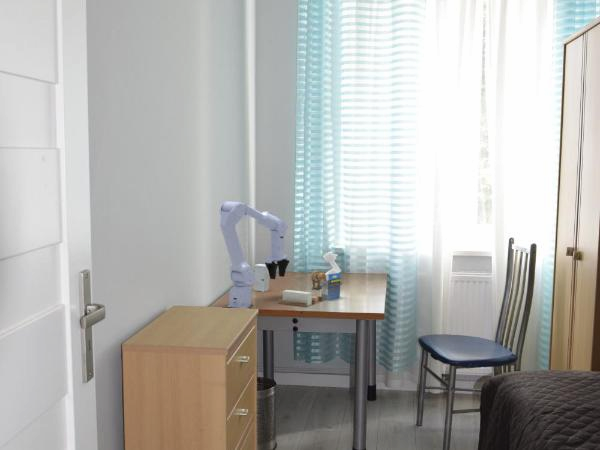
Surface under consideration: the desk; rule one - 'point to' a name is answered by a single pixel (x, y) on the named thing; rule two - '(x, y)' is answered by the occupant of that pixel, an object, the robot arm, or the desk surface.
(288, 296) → the strip
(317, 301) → the terracotta strip
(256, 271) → the skincare box
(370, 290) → the desk surface
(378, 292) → the desk surface
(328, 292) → the label tape box
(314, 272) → the lion figurine
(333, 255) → the voxel character
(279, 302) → the walnut drying rack
